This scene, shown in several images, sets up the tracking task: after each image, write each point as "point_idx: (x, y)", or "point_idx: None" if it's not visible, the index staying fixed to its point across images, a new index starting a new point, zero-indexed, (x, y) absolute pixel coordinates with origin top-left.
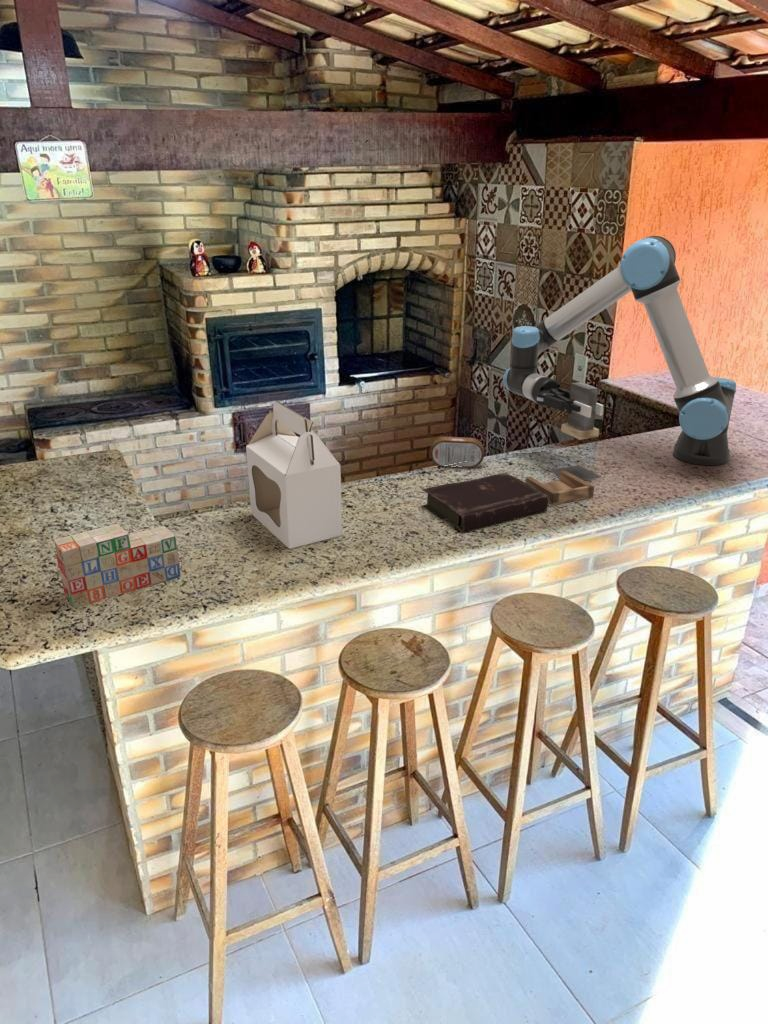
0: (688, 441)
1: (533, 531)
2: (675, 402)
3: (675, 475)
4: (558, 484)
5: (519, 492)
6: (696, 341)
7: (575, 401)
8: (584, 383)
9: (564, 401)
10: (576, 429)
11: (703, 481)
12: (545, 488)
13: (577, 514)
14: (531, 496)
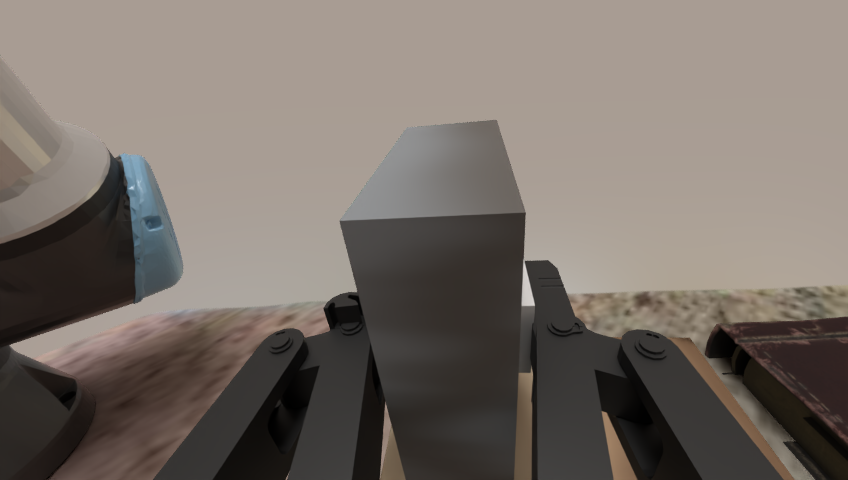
0: (8, 418)
1: (758, 293)
2: (50, 245)
3: (224, 387)
4: (615, 469)
5: (837, 362)
6: None
7: (525, 291)
8: (367, 184)
9: (632, 338)
10: (521, 390)
11: (230, 338)
12: (714, 375)
13: (621, 316)
14: (781, 333)
